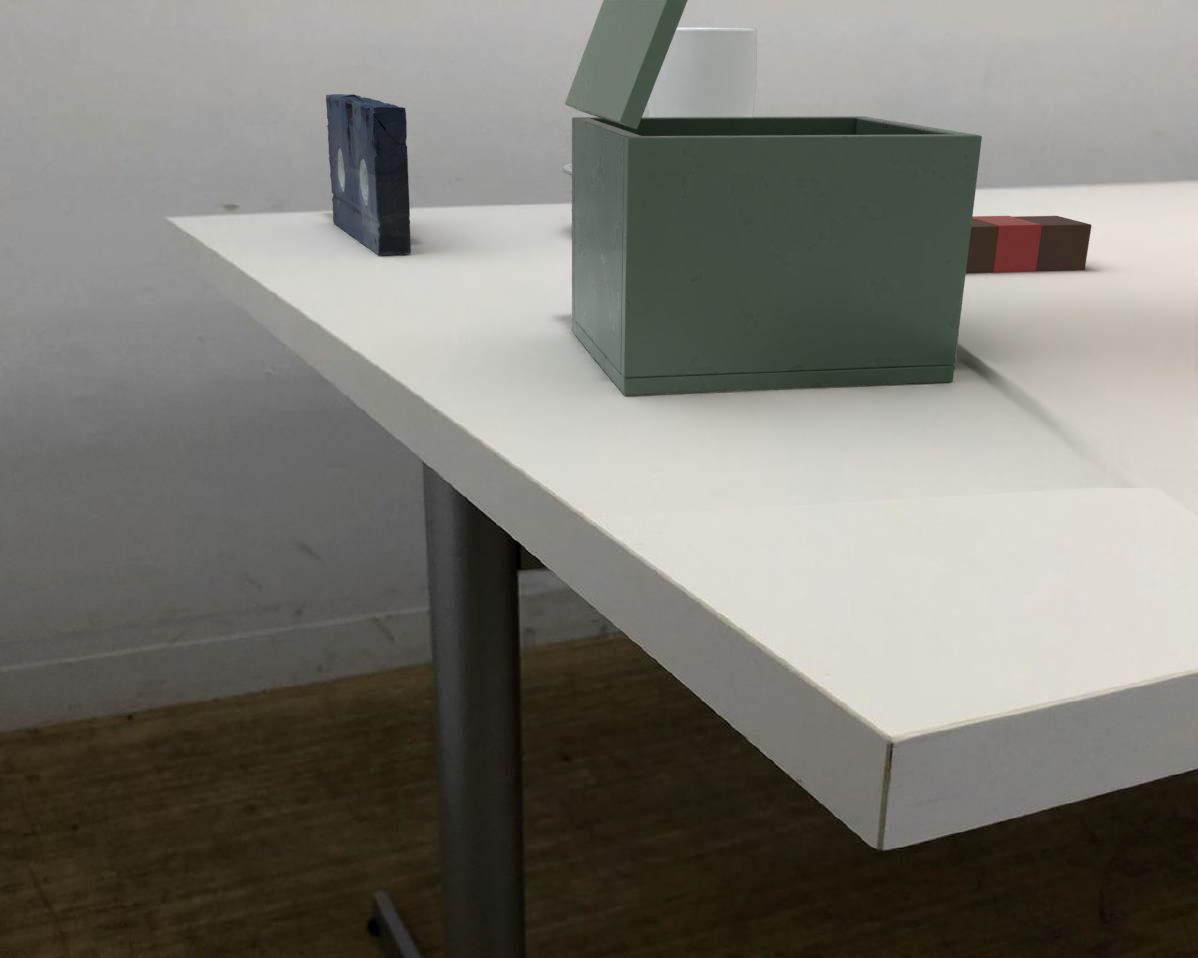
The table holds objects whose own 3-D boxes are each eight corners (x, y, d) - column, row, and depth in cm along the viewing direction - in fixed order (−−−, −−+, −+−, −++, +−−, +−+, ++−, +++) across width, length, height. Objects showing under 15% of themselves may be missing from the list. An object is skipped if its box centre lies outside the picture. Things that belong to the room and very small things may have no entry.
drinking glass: (667, 264, 90) (674, 27, 84) (760, 272, 87) (774, 28, 82) (626, 278, 85) (630, 27, 79) (723, 288, 82) (735, 27, 76)
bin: (847, 322, 72) (864, 116, 68) (953, 382, 60) (982, 135, 56) (571, 331, 70) (571, 117, 65) (624, 396, 58) (628, 137, 53)
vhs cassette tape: (413, 254, 93) (406, 106, 89) (372, 256, 92) (363, 106, 88) (368, 221, 109) (360, 94, 105) (332, 222, 108) (323, 94, 104)
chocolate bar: (1049, 270, 89) (1057, 214, 88) (1083, 282, 85) (1092, 223, 84) (912, 274, 87) (918, 217, 86) (940, 286, 83) (947, 226, 82)
